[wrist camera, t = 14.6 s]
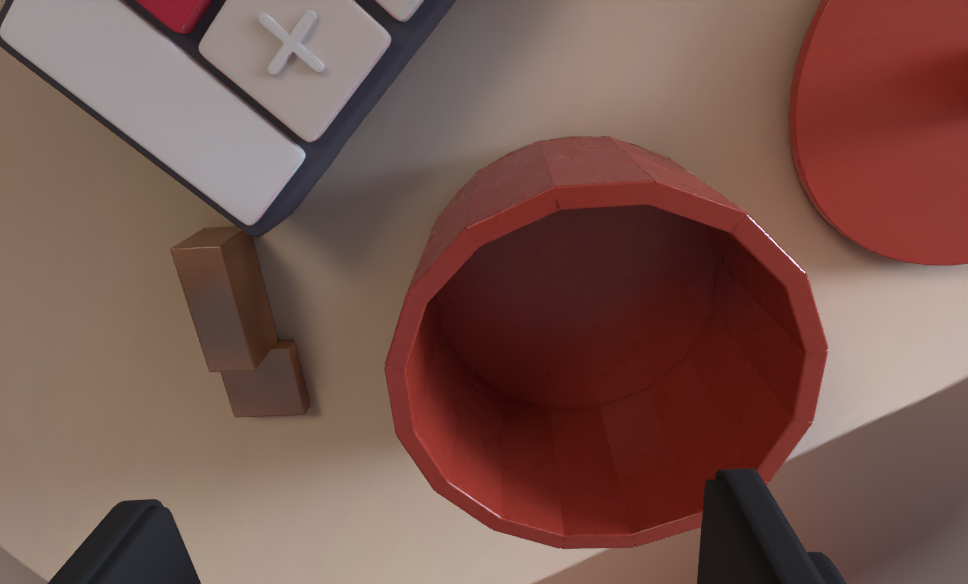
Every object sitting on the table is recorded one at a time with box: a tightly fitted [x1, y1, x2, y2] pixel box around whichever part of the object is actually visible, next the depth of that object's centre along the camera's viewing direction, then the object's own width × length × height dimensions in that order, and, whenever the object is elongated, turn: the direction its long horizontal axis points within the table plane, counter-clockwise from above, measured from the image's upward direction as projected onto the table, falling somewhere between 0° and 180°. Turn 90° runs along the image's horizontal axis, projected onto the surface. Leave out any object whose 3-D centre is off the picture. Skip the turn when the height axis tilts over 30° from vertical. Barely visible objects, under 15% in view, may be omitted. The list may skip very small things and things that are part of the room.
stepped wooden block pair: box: [170, 227, 310, 417], centre depth 26 cm, size 10×4×3 cm, turn 4°
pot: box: [385, 136, 828, 549], centre depth 22 cm, size 14×14×8 cm
